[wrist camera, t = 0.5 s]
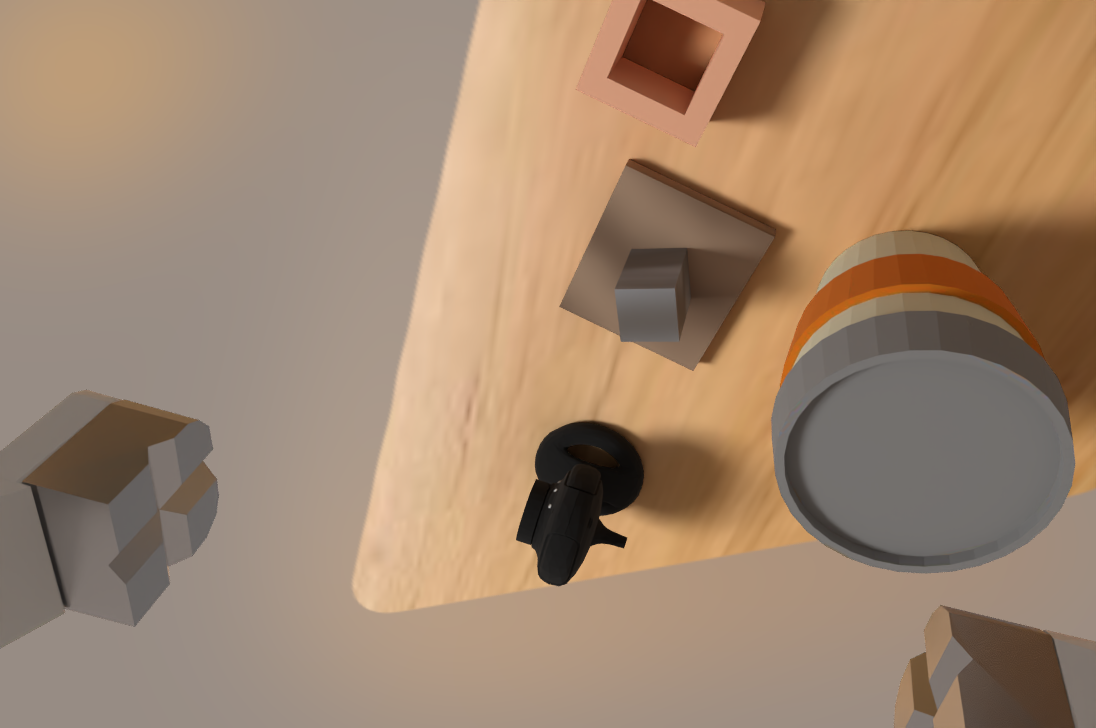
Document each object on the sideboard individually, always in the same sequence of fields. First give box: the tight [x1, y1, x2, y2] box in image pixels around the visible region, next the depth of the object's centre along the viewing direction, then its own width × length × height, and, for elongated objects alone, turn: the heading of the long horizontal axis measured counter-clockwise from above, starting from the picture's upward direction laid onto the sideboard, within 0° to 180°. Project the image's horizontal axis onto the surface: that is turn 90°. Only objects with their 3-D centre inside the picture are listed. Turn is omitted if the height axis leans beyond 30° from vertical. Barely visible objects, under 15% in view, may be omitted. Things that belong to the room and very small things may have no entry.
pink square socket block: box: [576, 0, 766, 147], centre depth 46 cm, size 7×7×4 cm
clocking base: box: [560, 159, 776, 371], centre depth 52 cm, size 10×9×6 cm
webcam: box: [516, 423, 644, 586], centre depth 60 cm, size 8×8×10 cm
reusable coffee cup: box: [771, 231, 1075, 573], centre depth 46 cm, size 13×13×15 cm
